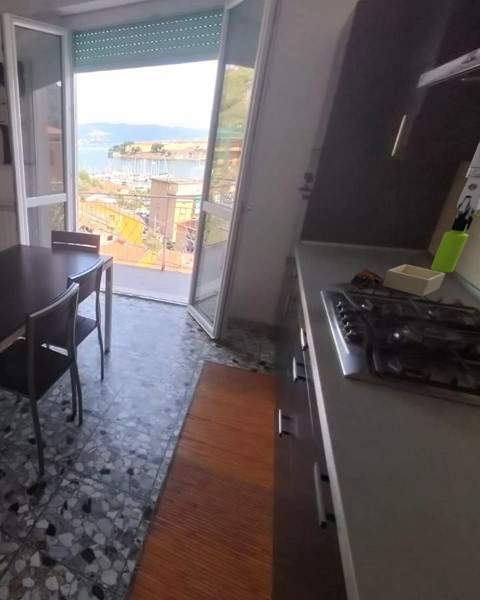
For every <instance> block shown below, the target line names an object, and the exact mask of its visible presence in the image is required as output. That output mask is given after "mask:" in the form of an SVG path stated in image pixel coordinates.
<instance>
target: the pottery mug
mask: <svg viewBox="0 0 480 600" xmlns="http://www.w3.org/2000/svg"><path fill="white" fill-rule="evenodd" d="M382 279H383V277H381V276H380V275H379V274H377V273H376V272H374V271H372V270H370V269H367V268H364V269H363V270H360V271H358V272H356V273H355V275H354V276H353V278H352V279H350V282H349V284H350V285H352V286H353V287H355V288H357V289H359V288H360V286H361V287H363V288H364V289H365V288H366V289H367V288H369V287H370V286H371V285H372V284H373V283H375V284H376V285H375V288H376V289H377V288H379V286H380V285H381V280H382Z"/></svg>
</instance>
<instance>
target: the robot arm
mask: <svg viewBox="0 0 480 600" xmlns="http://www.w3.org/2000/svg"><path fill="white" fill-rule="evenodd" d="M465 178H466V179H467V181H466V183H465V185H464V188H463V190H462V192H461V194H460V196H459V198H458V201H457V204H456V209H457V213H456V216H455V219H454V221H453V222H452V226H451V228H450V231H451V230H455V231H464V230H465V228H466V225H467V224H468V225H467V228H466V230H465V231H468V230H470V228H471V225H472V223H473V220H474V218H475V216H469V215H470V214H477V211H480V141H479V143H478V145H477V147H476V150H475V152H474V155H473V157H472V160H471V162H470V165H469V167H468V170H467V171H466V174H465Z"/></svg>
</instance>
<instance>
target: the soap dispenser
mask: <svg viewBox="0 0 480 600" xmlns="http://www.w3.org/2000/svg"><path fill="white" fill-rule="evenodd" d="M469 216H474V218H480V214H477V213H475V214H470V215H469ZM467 225H468V224H467ZM467 225H466V228H467ZM466 228H465V230H464V231H455V230H451V229H450V231H445V232H444V233H443V236H442V239H441V242H440V244H439V247H438V249H437V252H436V254H435V256H434V259H433V262H432V264H431V266H430V270H433V271H437V272H442V273H453V272H454V271H455V268H456V266H457V264H458V262H459V259H460V256H461V254H462V252H463V250H464V247H465V246H466V242H467V240H468V238H469V234H468V233H465V232H466V231H467V230H466Z"/></svg>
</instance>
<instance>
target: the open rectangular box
mask: <svg viewBox="0 0 480 600" xmlns="http://www.w3.org/2000/svg"><path fill="white" fill-rule="evenodd" d="M446 273H447V272H440V271H436V270H433V269H427V268H424V267H419V266H415V265H410V264H405V263H404V264H402V265H399V266H396V267H393V268H390V269H388V270H387V272H386V274H385V277H384V280H383V283H382V286H383V287H386V288H388V289H389V288H390V289H394V290H397V291H400V292H404V293H408V294H412V295H415V296H419V297H424V296H427V295H428V294H430V293H434V292H435V291H438V290H439V289H440V287H441V285H442V283H443V280H444V279H445V276H446Z"/></svg>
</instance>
